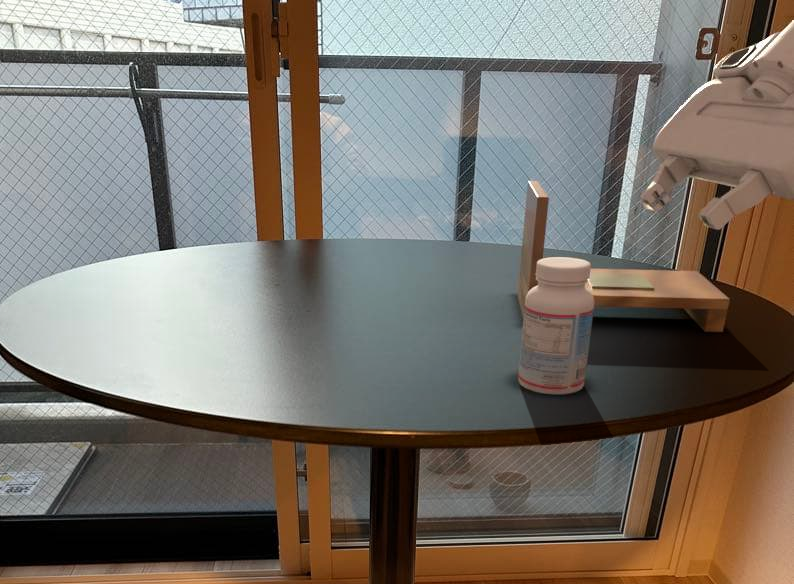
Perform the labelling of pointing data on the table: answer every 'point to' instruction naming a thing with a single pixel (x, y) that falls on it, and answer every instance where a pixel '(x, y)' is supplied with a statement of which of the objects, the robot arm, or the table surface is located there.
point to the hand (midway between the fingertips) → (675, 213)
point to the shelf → (623, 277)
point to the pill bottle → (557, 327)
